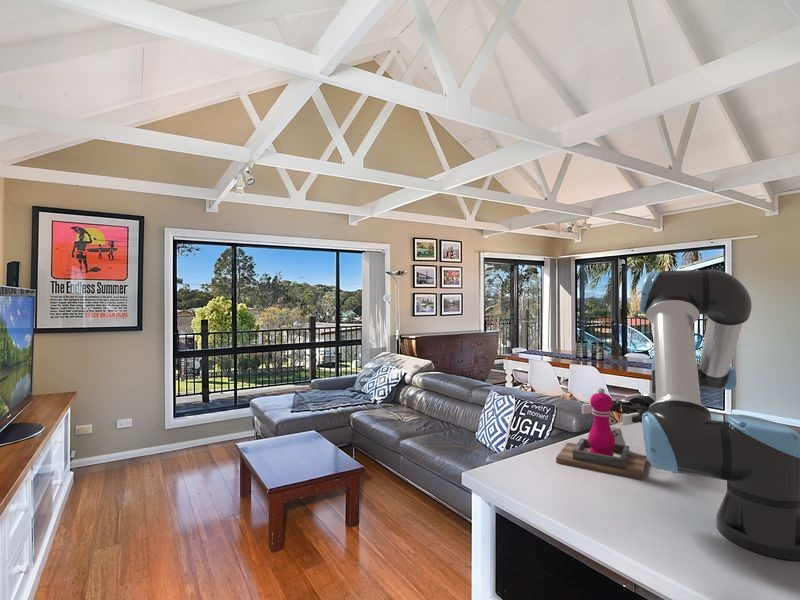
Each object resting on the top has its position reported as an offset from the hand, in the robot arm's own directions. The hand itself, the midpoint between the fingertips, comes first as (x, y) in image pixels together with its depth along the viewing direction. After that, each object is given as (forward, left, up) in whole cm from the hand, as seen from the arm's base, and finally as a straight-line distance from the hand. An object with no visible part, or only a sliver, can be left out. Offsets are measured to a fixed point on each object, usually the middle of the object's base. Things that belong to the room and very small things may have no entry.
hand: (601, 414), depth 126 cm
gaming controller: (+15, 0, -14) cm, 21 cm away
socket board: (-1, 0, -14) cm, 14 cm away
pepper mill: (-1, 0, -12) cm, 12 cm away
